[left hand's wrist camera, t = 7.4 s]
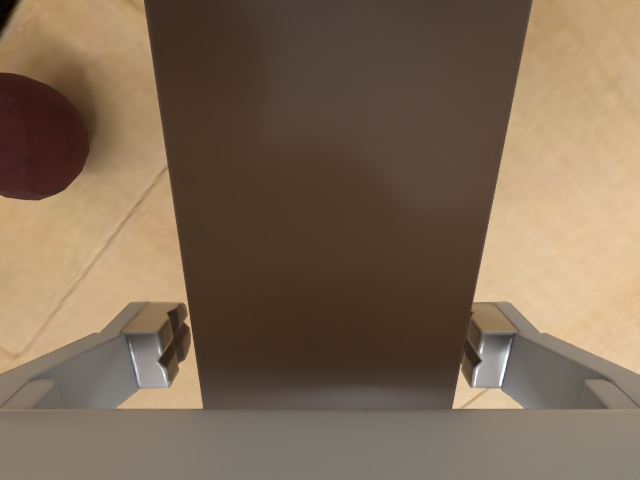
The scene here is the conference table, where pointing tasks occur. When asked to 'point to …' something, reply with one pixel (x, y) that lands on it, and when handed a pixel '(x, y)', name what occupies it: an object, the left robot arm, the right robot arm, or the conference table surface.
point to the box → (333, 189)
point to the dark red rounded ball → (38, 139)
